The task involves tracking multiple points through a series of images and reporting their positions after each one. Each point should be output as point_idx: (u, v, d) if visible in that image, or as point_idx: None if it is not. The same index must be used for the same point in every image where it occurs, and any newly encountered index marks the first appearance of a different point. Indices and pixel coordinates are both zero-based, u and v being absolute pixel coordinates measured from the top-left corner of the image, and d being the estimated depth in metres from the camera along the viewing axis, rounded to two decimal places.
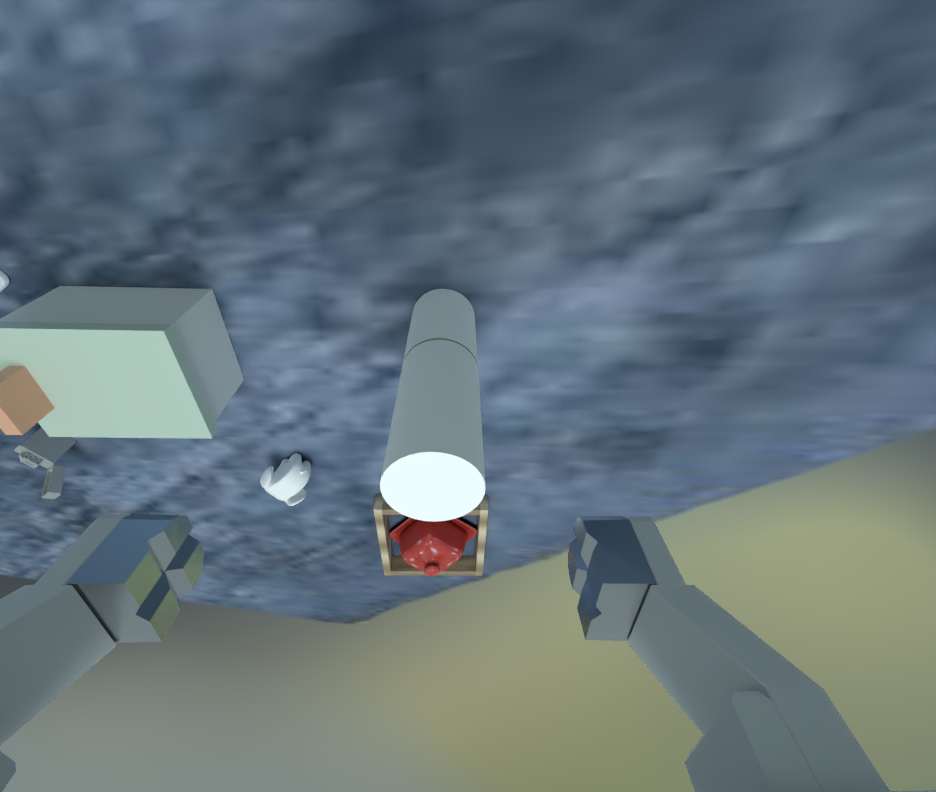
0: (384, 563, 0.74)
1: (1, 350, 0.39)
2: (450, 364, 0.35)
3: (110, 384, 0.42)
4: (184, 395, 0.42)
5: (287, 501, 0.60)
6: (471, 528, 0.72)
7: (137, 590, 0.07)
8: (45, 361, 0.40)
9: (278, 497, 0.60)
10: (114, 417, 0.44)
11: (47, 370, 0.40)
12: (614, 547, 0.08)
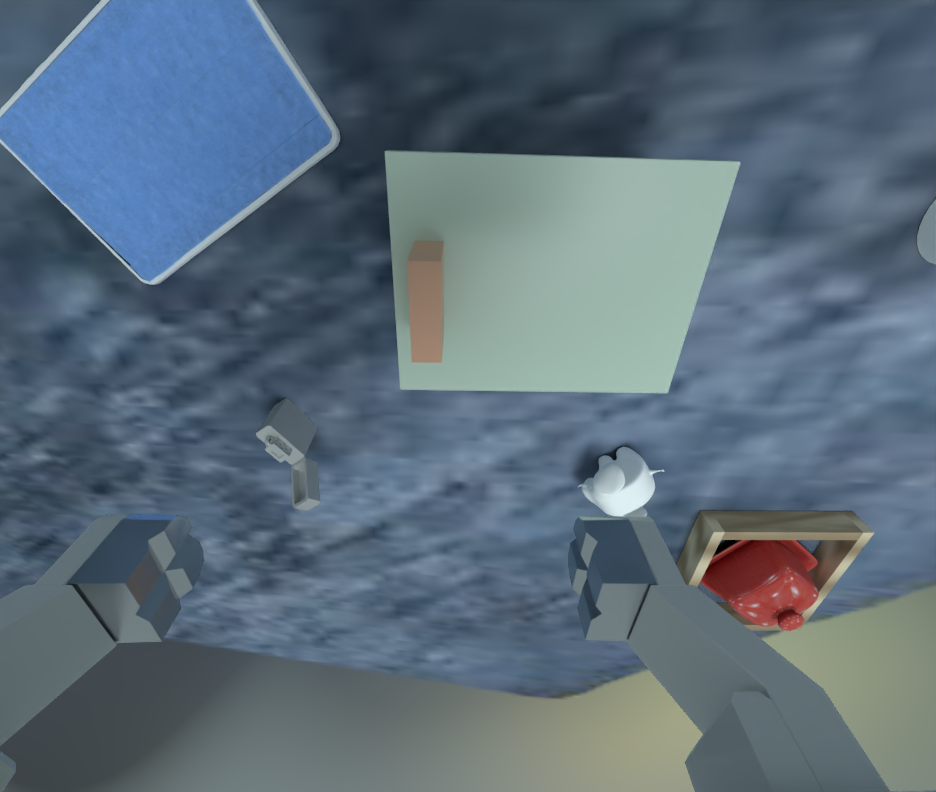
0: None
1: (421, 205, 0.21)
2: None
3: (569, 282, 0.24)
4: (680, 305, 0.24)
5: None
6: (812, 558, 0.51)
7: (138, 590, 0.07)
8: (485, 231, 0.22)
9: (617, 510, 0.40)
10: (532, 351, 0.26)
11: (477, 251, 0.23)
12: (614, 547, 0.08)
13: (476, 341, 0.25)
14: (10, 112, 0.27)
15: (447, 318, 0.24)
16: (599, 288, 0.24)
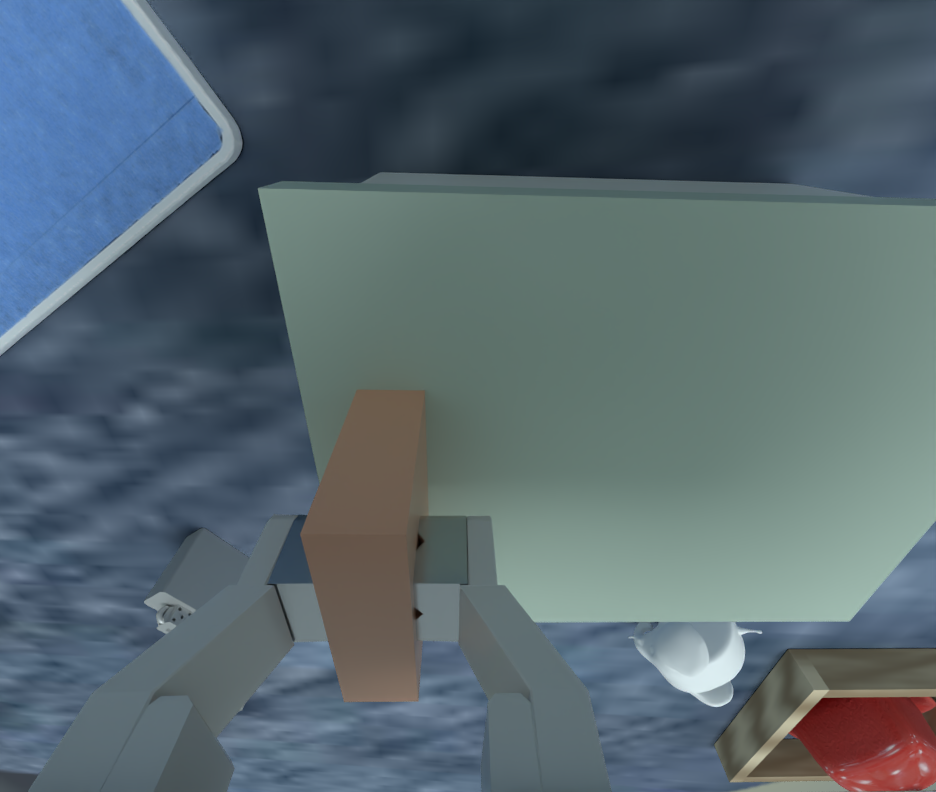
0: (746, 767, 0.40)
1: (368, 317, 0.09)
2: None
3: (700, 461, 0.11)
4: (925, 498, 0.12)
5: (699, 694, 0.28)
6: (930, 701, 0.38)
7: None
8: (524, 369, 0.09)
9: (691, 688, 0.27)
10: (605, 568, 0.13)
11: (503, 408, 0.10)
12: (439, 546, 0.08)
13: (495, 556, 0.13)
14: None
15: None
16: (763, 471, 0.11)
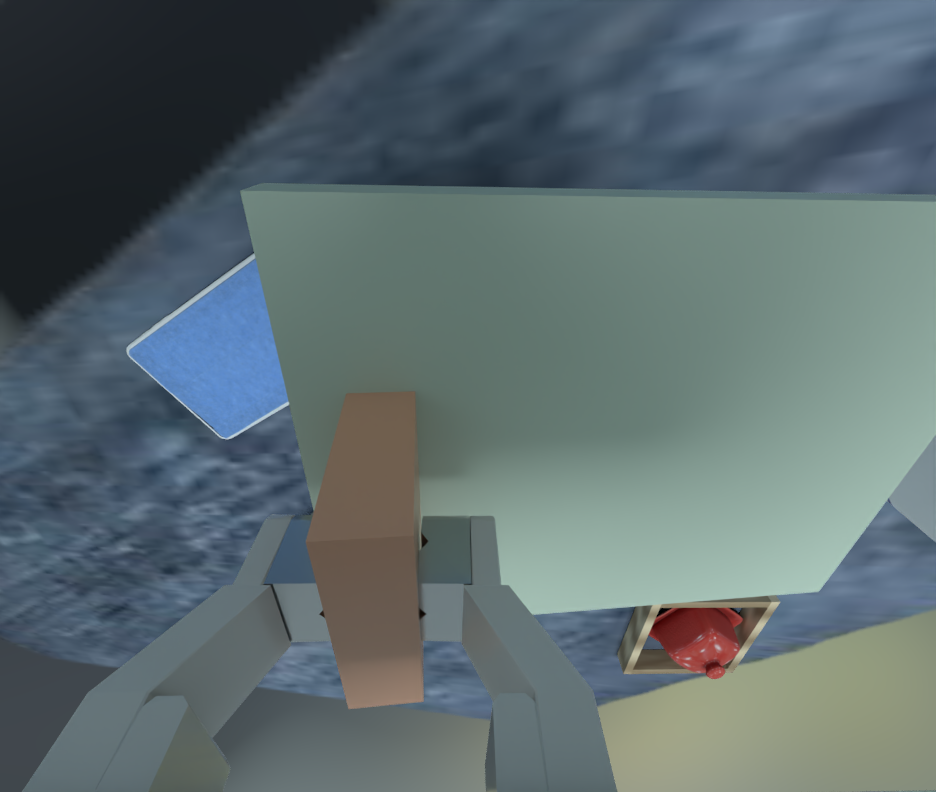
0: (631, 661, 0.65)
1: (357, 319, 0.09)
2: None
3: (682, 448, 0.11)
4: (883, 472, 0.13)
5: None
6: (738, 616, 0.63)
7: None
8: (513, 366, 0.09)
9: None
10: (594, 557, 0.13)
11: (493, 405, 0.10)
12: (443, 546, 0.08)
13: None
14: (141, 343, 0.39)
15: None
16: (739, 455, 0.12)
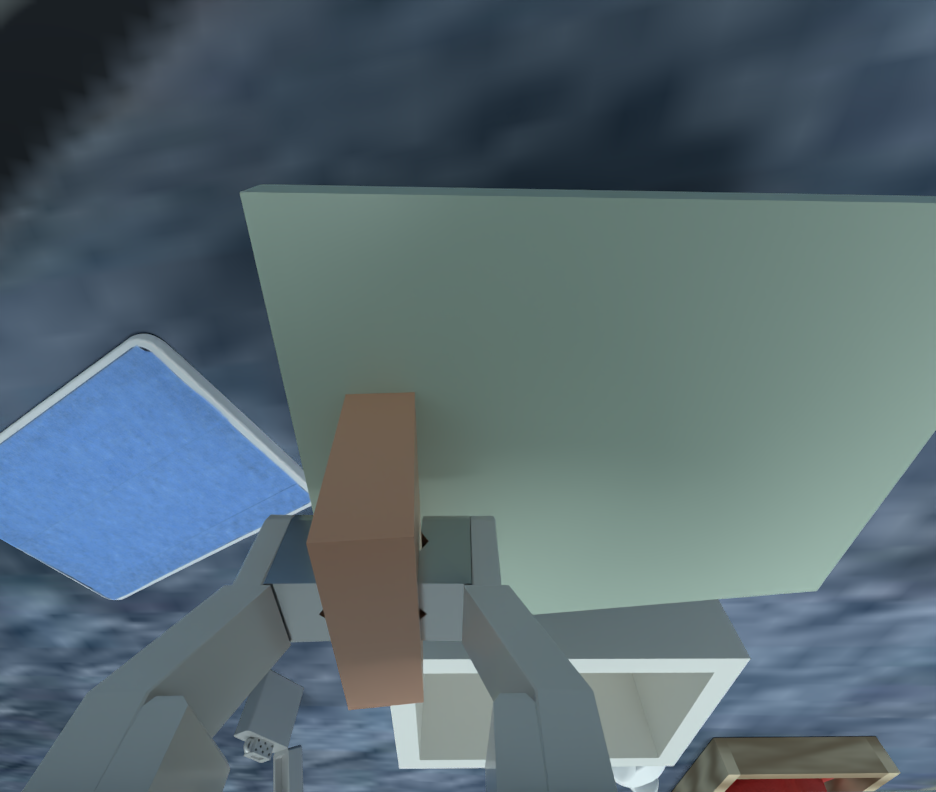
0: None
1: (356, 320, 0.09)
2: None
3: (680, 449, 0.11)
4: (880, 472, 0.13)
5: (634, 787, 0.38)
6: None
7: None
8: (512, 367, 0.09)
9: (626, 785, 0.37)
10: (593, 557, 0.13)
11: (493, 406, 0.10)
12: (443, 546, 0.08)
13: None
14: None
15: None
16: (737, 455, 0.12)
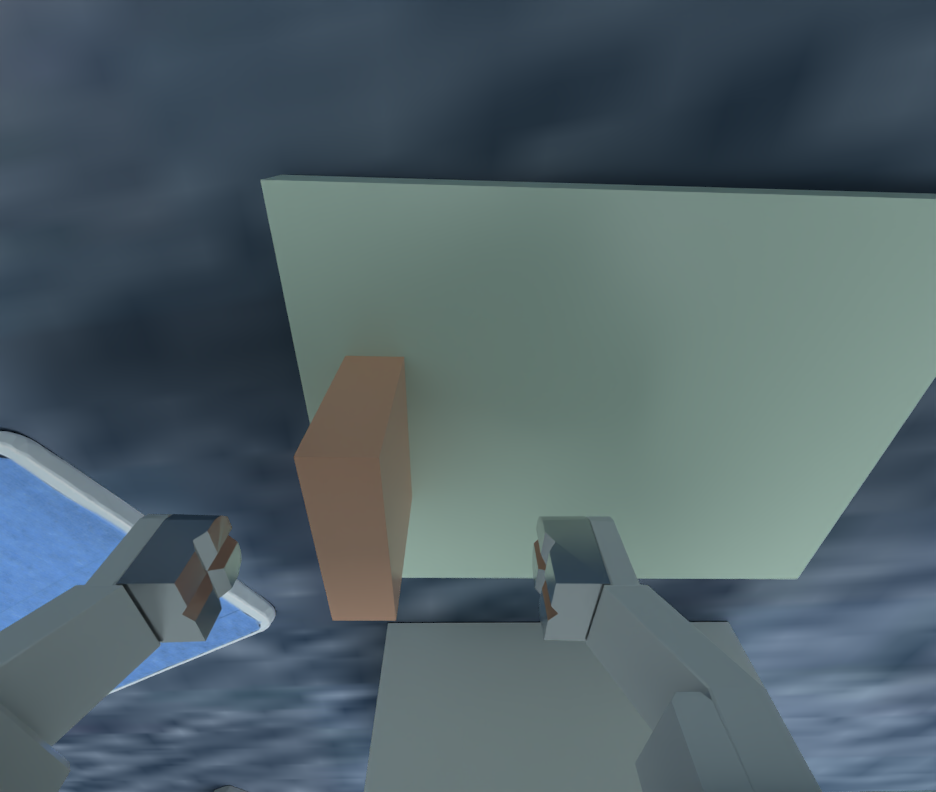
0: None
1: (354, 291, 0.10)
2: None
3: (649, 423, 0.12)
4: (852, 459, 0.13)
5: None
6: None
7: (185, 589, 0.07)
8: (489, 338, 0.11)
9: None
10: None
11: (473, 373, 0.11)
12: (571, 547, 0.08)
13: (471, 512, 0.14)
14: None
15: (417, 480, 0.13)
16: (705, 433, 0.12)
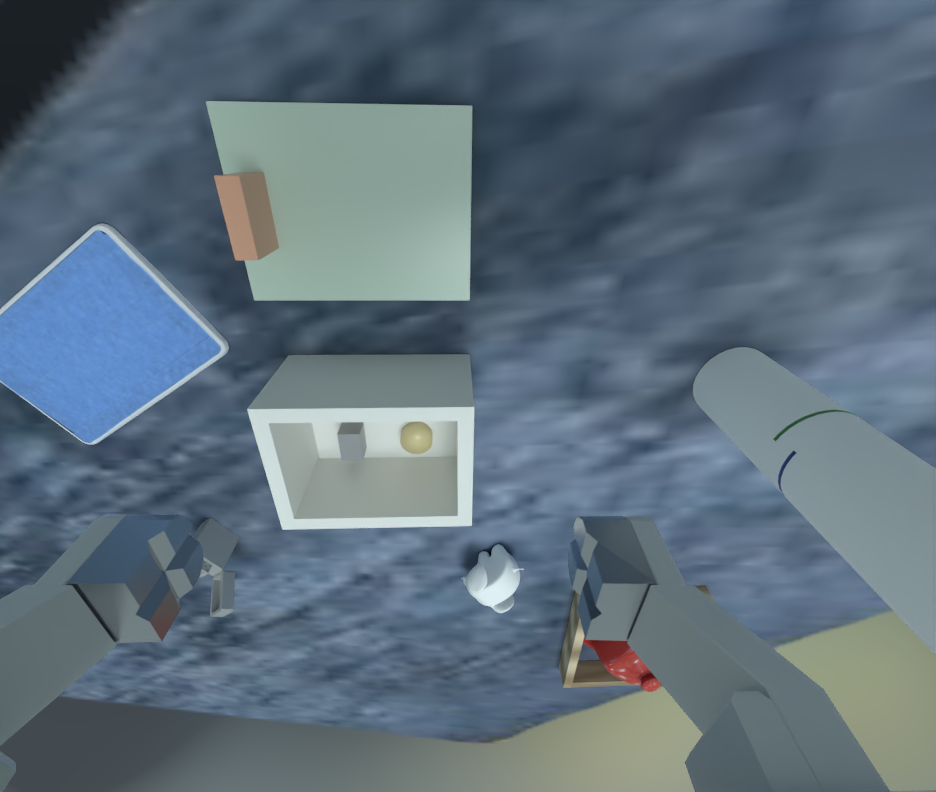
0: (568, 673, 0.61)
1: (241, 143, 0.29)
2: (897, 445, 0.27)
3: (367, 204, 0.31)
4: (459, 223, 0.32)
5: (494, 607, 0.49)
6: None
7: (138, 589, 0.07)
8: (294, 163, 0.29)
9: (487, 602, 0.48)
10: (352, 264, 0.33)
11: (291, 179, 0.30)
12: (614, 547, 0.08)
13: (306, 256, 0.32)
14: None
15: (279, 237, 0.32)
16: (392, 209, 0.31)
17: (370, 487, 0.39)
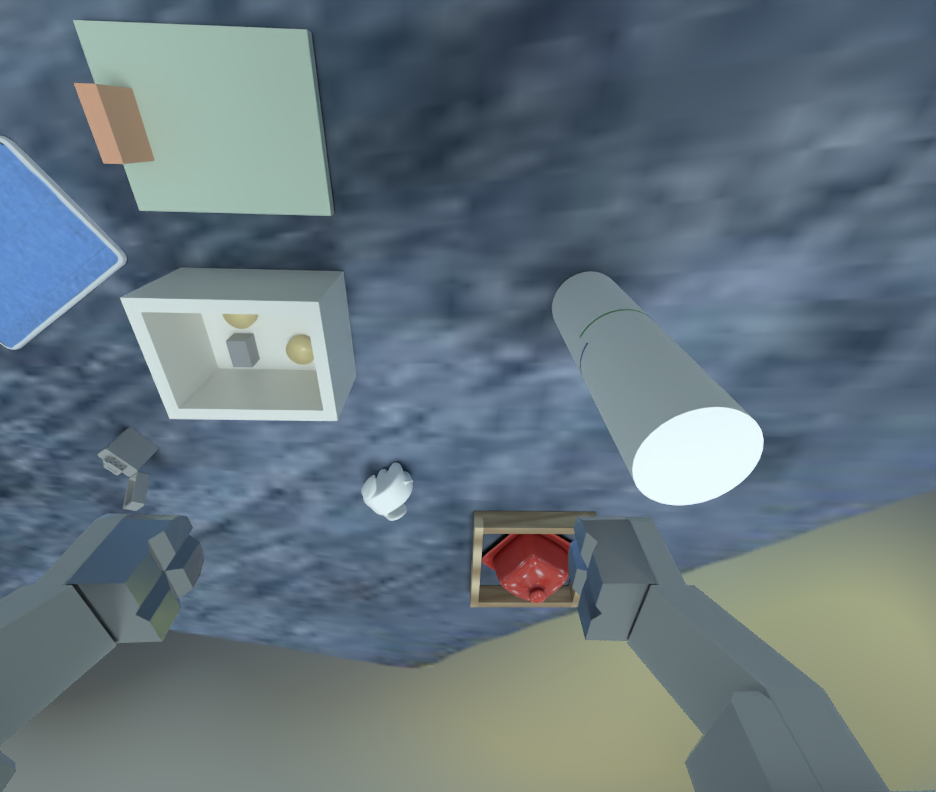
0: (473, 592, 0.66)
1: (109, 60, 0.33)
2: (658, 330, 0.31)
3: (227, 121, 0.35)
4: (311, 141, 0.36)
5: (387, 515, 0.54)
6: None
7: (138, 589, 0.07)
8: (157, 80, 0.34)
9: (379, 510, 0.54)
10: (222, 178, 0.37)
11: (157, 96, 0.34)
12: (614, 547, 0.08)
13: (180, 169, 0.37)
14: None
15: (153, 150, 0.36)
16: (250, 126, 0.35)
17: (255, 389, 0.44)
